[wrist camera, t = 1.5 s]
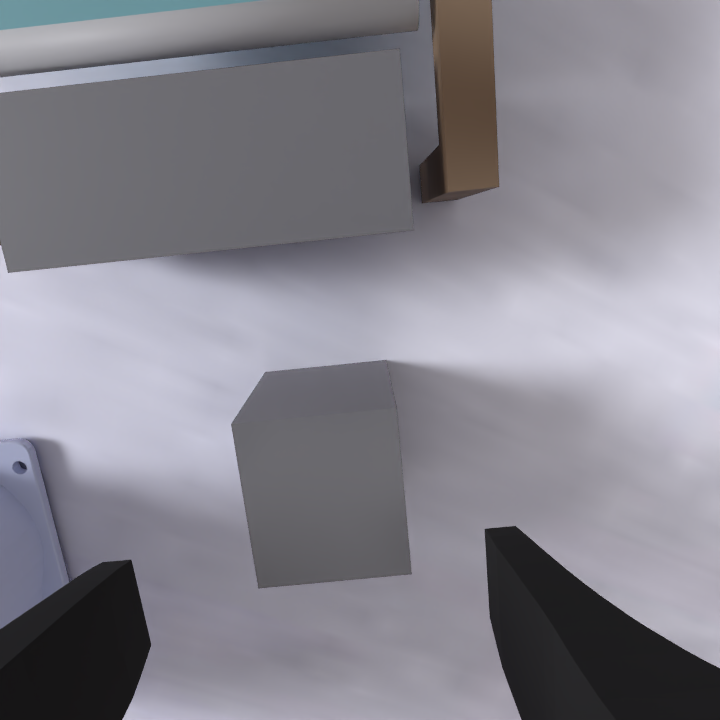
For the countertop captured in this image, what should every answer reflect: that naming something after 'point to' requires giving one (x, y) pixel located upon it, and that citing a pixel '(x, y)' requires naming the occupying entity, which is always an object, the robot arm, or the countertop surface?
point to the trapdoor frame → (462, 102)
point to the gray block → (323, 475)
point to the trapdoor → (198, 130)
